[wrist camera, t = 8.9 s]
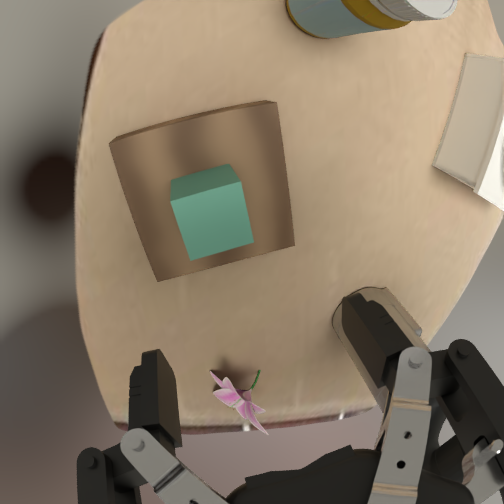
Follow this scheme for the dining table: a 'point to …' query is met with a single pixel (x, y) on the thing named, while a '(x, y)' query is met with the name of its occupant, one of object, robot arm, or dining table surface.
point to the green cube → (211, 211)
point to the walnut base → (198, 159)
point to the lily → (239, 400)
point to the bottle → (363, 15)
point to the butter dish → (476, 129)
